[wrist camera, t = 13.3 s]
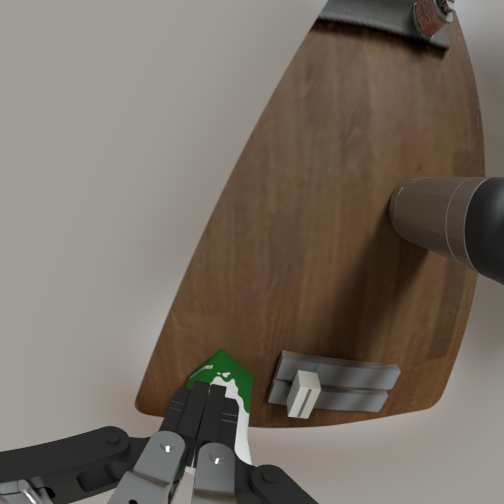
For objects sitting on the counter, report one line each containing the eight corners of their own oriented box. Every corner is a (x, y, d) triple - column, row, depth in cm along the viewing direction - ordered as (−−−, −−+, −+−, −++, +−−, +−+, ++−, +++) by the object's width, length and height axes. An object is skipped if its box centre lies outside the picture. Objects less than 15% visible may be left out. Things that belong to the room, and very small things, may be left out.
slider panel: (396, 364, 41) (401, 371, 39) (375, 403, 43) (379, 411, 41) (282, 350, 41) (282, 358, 39) (268, 394, 43) (268, 403, 41)
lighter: (433, 42, 30) (464, 18, 20) (416, 35, 30) (445, 9, 20) (426, 8, 28) (452, -18, 18) (409, 1, 28) (434, -26, 18)
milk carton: (224, 402, 44) (206, 498, 25) (184, 369, 43) (144, 463, 24) (262, 376, 43) (259, 479, 23) (221, 340, 41) (192, 441, 22)
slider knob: (315, 368, 40) (321, 389, 35) (304, 397, 42) (307, 419, 37) (296, 365, 40) (300, 387, 35) (286, 394, 42) (288, 416, 37)
